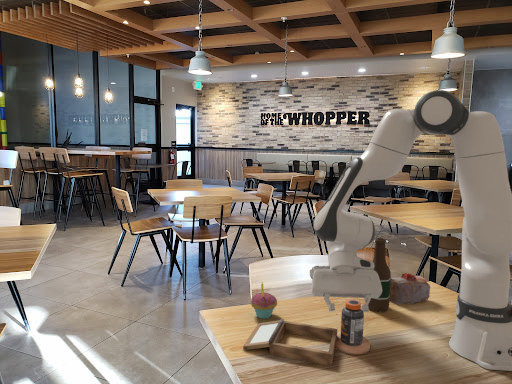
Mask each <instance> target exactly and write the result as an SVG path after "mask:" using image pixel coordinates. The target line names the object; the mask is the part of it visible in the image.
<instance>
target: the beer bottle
mask: <svg viewBox="0 0 512 384" xmlns="http://www.w3.org/2000/svg"><path fill="white" fill-rule="evenodd" d="M386 243H387V240H386V238H382V237H378V238H376V237H375V238H374V253H373V259H372V262H373V263H374V271H376V272H377V274H378V276H379V279H380V282H381V286H382V294H381V295H380V296H379V298H371V300H370V302H369V304H368V308H369V311H371V312H375V313H386V312H387V311H388V310H389V309H390V302H391V301H390V283H391V278H392V274H391V273H392V272H391V269H390V266H389V265H388V264H387V259H386V257H387V256H386ZM364 302H365V304H366V302H367V301H364Z"/></svg>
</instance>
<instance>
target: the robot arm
mask: <svg viewBox="0 0 512 384" xmlns="http://www.w3.org/2000/svg"><path fill="white" fill-rule="evenodd" d="M497 120H498V119H497V118H496V117H495V115H494V114H492V113H491V112H489V111H484V110H475V111H469V110H468V108H467V107H466V106H465V105H464V103H462V102H461V101H460V99H459V98H458V97H457V96H456V95H455V94H453V93H452V92H451V91H447V90H443V89H437V90H433V91H429V92H427V93H425V94H423V95H422V96H421V97H420V98H419V100H418V101H416V104H415V106H414V108H413V109H410V110H407V109H404V108H392V109H389V110H388V111H386V112H385V113H384V115H383V117H382V118H381V119H380V121H379V123H378V125H377V127H376V129H375V131H374V132H373V134H372V137H371V140H370V142H369V144H368V146H367V147H366V149H365V150H364V151H363V153H362V154H361V155H359V156H358V157H356V158H353V159H352V160H351V161H349V163H348V164H347V166H346V167H345V169H344V170H343V172H342V174H341V175H340V176H339V179H338V180H337V182H336V184H335V186H334V187H333V189H332V191H331V193H330V194H329V196H328V197H327V200H326V201H325V203H324V204H323V205H322V207H321V208H320V209H319V210H318V211H317V213H316V215H315V217H314V219H313V223H312V224H313V225H312V226H313V227H312V228H313V231H314V233H315V235H316V236H317V238H318V239H320V240H321V241H323V242H326V248H327V250H328V256H327V260H328V262H327V263H328V265H322V266H321V265H314V266H312V267H311V268H310V269H309V277H310V279H311V294H312V296H313V297H323V300H324V302H325V304H326V305H327V306H328V311H329V312H335V310H336V307H335V306H336V305H335V302H334V303H333V302H331V300H330V298H357V299H358V298H359V299H363V301H364V302H365V301H367V302H366V303H365V304H364V303H362V304H361V310H362V311H363V312H364V313H369V311H370V310H369V308H368V304H369V302H370V300H371V298H379V296H380V295H381V294H382V286H381V282H380V279H379V276H378V274H377V272H376V271H374V263H373V261H372V260H371V261H370V260H367V259H364V258H362V257H359V256H357V251H361V250H363V249H364V248H366V247H368V246H369V245H370V244H371V243H372V242H374V241H375V239H376V227H375V223H374V221H373V219H372V218H371V217H369V216H366V215H363V214H359V213H355V212H351V211H350V212H349V211H347V210H346V211H345V210H343V209H344V207H345V205H346V204H347V201H348V200H349V198H350V197H351V195H352V194H353V192H354V190H355V189H356V188H358V186H360V185H361V184H364V183H366V182H372V181H380V180H386V179H390V178H392V177H394V176H396V175H398V174H399V173H400V172H401V170H402V169H403V168H404V166H405V164H406V163H407V159H408V157H409V154H410V152H411V150H412V147H413V146H414V143H415V141H416V140H417V139H418V138H419V137H420V136H442V135H446V136H448V137H449V138H450V140H451V142H452V145H453V150H454V157H455V158H454V159H455V163H456V164H455V165H456V174H457V180H458V185H459V187H458V188H459V193H460V196H461V202H462V208H463V212H464V217H463V220H462V229H461V230H462V232H461V271H460V274H461V275H460V285H459V294H458V295H457V300H456V304H455V305H456V306H455V316H456V320H455V324H454V327H453V328H454V329H453V331H452V334H451V337H450V339H449V340H448V346H449V347H450V349H451V350H453V352H455V353H456V354H458V355H459V356H461V357H462V358H464V359H467V360H470V361H472V362H473V363H476V364H477V365H478V366H480V367H482V368H483V369H486V370H490V371H491V370H495V371H507V372H512V304H511V303H510V302H509V296H510V295H509V294H510V283H511V271H510V270H511V269H510V267H511V266H510V255H511V254H512V189H511V185H510V181H509V174H508V167H507V165H508V164H507V157H506V152H505V149H506V148H505V144H504V139H503V136H502V131H501V128H500V124H499V122H498V121H497Z"/></svg>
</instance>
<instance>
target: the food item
mask: <svg viewBox="0 0 512 384" xmlns="http://www.w3.org/2000/svg"><path fill="white" fill-rule="evenodd" d="M430 291H431V284H429V283H428V282H427V279H425V277H423V276H420V275H414V274H412V273H402V275H401V277H400V276H398V277H391V283H390V301H389V302H391V303H392V304H394V305H395V304H396V305H403V303H404V304H409V305H413V304H417V303H420V302H425V301H426V300H427V301H428V299H429V298H430V296H431V295H430V294H431V293H430Z"/></svg>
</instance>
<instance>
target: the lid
mask: <svg viewBox="0 0 512 384" xmlns="http://www.w3.org/2000/svg"><path fill="white" fill-rule="evenodd" d="M279 321H280V319H279V320H273V321H268V322H267V321H265V322H260V323H257V325H256V326H255V328H254V329H253V330H252V332H251V333H250V335H249V337H248V339H247V338H246V339H247V340H246V341H245V342H244V344H243V345H242V350H243V351H248V350H255V349H262V348H270V343H269V342H268V341H269V339H270V337H271V335H272V334H273V332H274V330H275V328H276V326H277V325H278V323H279Z"/></svg>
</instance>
